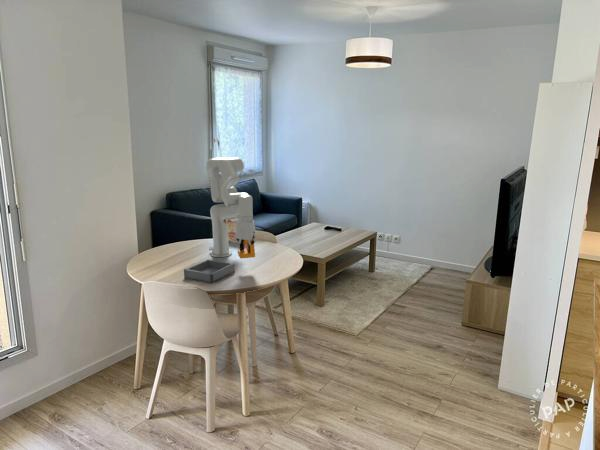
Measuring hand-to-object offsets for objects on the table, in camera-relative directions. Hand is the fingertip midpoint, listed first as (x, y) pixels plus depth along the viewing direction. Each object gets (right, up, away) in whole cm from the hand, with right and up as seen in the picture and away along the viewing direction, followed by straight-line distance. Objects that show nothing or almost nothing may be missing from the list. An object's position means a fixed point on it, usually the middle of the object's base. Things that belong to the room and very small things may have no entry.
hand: (246, 250), depth 239 cm
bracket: (0, -3, +1) cm, 3 cm away
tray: (-19, -13, -1) cm, 23 cm away
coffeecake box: (-15, +2, +69) cm, 71 cm away
